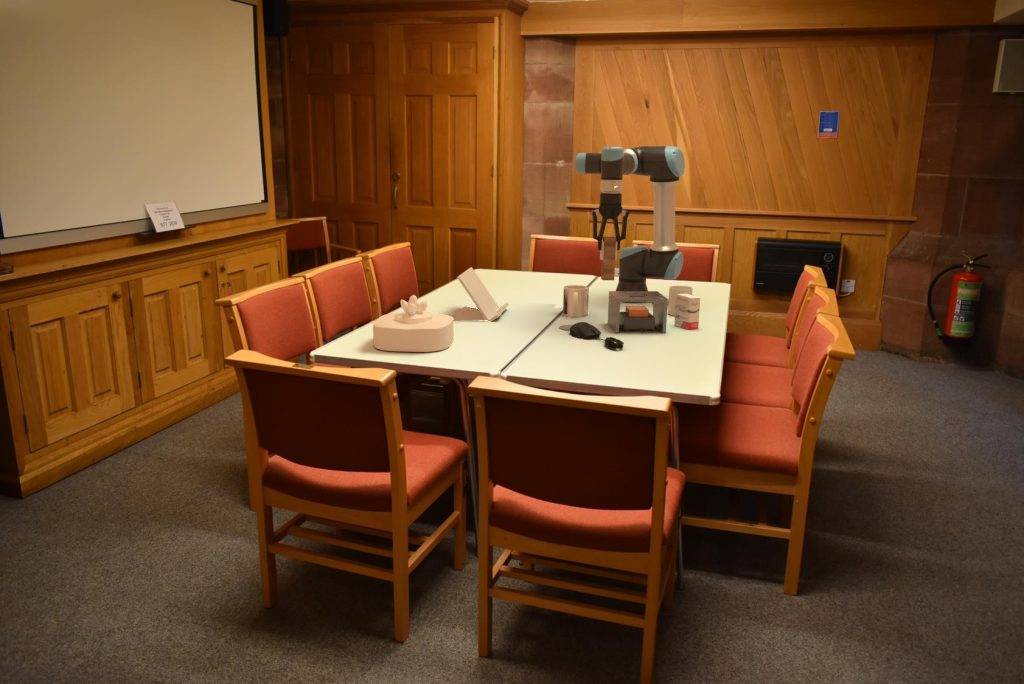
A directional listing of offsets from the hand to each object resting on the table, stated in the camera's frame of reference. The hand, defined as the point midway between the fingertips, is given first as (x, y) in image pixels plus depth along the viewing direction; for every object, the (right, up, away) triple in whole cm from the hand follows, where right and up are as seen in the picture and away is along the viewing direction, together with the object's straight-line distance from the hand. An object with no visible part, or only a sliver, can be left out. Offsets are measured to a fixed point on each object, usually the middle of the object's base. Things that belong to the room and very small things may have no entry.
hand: (608, 259), depth 275 cm
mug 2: (+32, -19, +32) cm, 49 cm away
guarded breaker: (+11, -24, +7) cm, 27 cm away
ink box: (+30, -24, +10) cm, 39 cm away
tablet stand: (-46, -19, +28) cm, 57 cm away
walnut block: (0, -7, +2) cm, 7 cm away
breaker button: (+11, -23, +6) cm, 26 cm away
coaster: (-13, -24, +5) cm, 28 cm away
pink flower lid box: (-67, -30, -17) cm, 75 cm away
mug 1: (-10, -19, +28) cm, 35 cm away
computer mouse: (-6, -29, -12) cm, 32 cm away
